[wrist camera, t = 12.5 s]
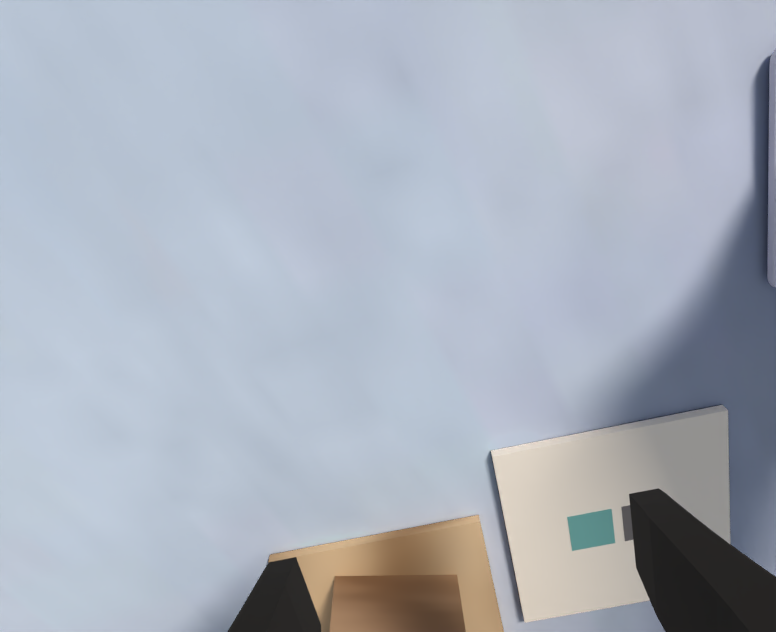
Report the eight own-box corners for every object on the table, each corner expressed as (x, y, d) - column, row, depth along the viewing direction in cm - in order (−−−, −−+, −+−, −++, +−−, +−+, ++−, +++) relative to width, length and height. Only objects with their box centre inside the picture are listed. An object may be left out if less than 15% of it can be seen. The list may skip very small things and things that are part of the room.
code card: (722, 404, 23) (728, 410, 22) (726, 579, 26) (731, 586, 26) (490, 450, 23) (492, 457, 23) (522, 614, 27) (524, 623, 26)
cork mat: (478, 514, 24) (479, 521, 24) (510, 664, 28) (512, 672, 27) (269, 554, 25) (268, 561, 25) (325, 696, 28) (324, 704, 28)
